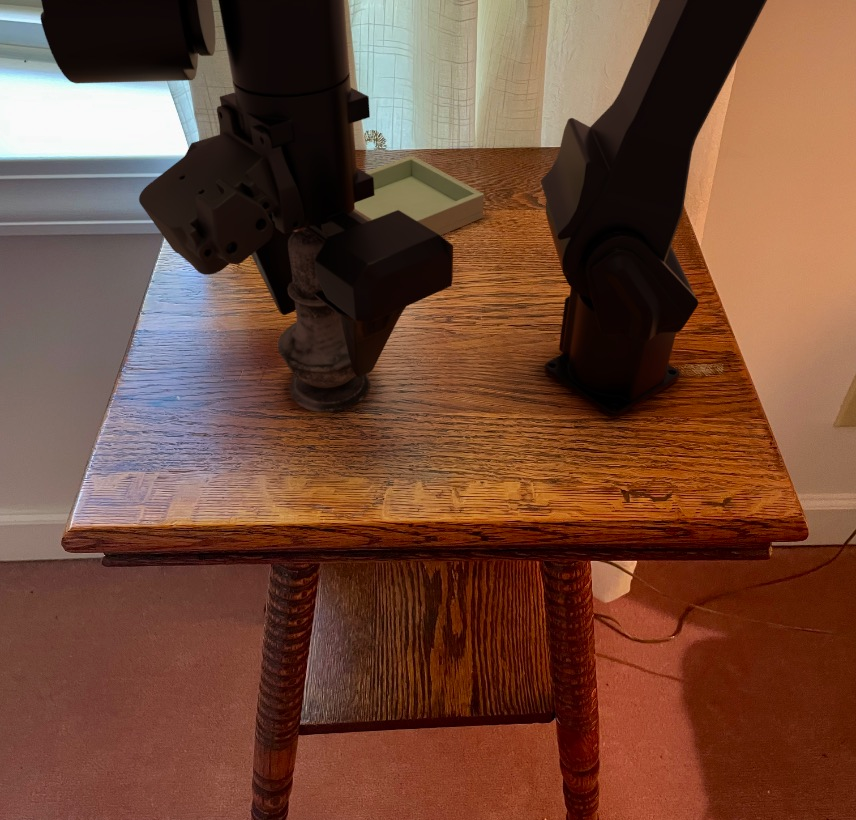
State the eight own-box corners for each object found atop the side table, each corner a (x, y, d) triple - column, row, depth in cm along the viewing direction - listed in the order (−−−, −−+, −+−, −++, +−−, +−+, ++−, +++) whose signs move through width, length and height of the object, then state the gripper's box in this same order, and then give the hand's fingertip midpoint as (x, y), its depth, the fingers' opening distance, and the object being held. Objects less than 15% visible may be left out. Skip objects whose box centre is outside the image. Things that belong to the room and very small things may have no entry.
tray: (483, 217, 69) (484, 193, 68) (391, 256, 65) (390, 231, 64) (412, 178, 75) (412, 155, 73) (323, 211, 71) (321, 187, 69)
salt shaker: (326, 428, 51) (303, 252, 43) (266, 388, 54) (233, 215, 45) (393, 384, 54) (384, 212, 45) (333, 348, 57) (313, 179, 48)
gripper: (58, 61, 42) (139, 322, 53) (243, 192, 32) (295, 479, 43) (249, 15, 46) (286, 264, 58) (463, 117, 36) (457, 394, 48)
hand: (324, 341), depth 52 cm, fingers open, 8 cm apart
